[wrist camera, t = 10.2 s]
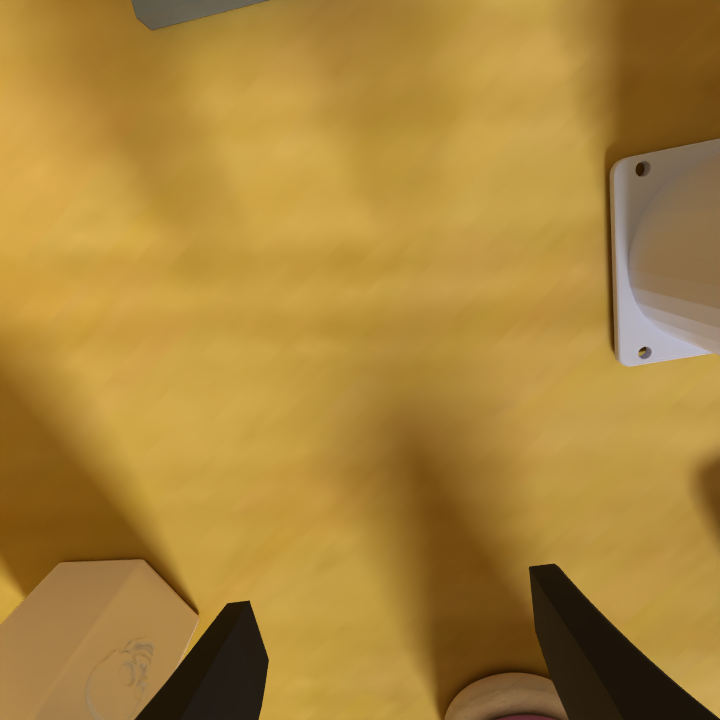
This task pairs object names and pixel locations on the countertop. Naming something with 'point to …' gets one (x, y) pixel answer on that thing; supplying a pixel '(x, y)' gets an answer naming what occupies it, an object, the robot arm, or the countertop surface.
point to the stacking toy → (508, 699)
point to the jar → (92, 643)
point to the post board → (181, 10)
